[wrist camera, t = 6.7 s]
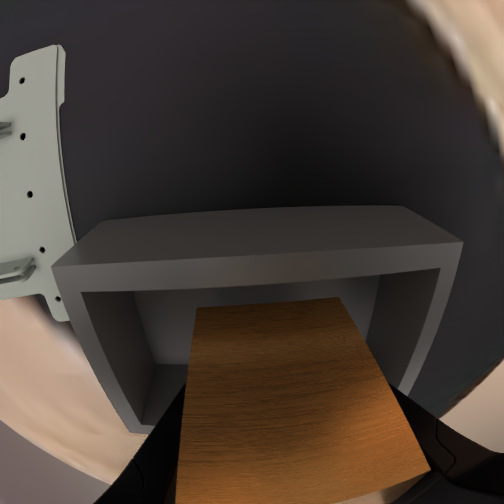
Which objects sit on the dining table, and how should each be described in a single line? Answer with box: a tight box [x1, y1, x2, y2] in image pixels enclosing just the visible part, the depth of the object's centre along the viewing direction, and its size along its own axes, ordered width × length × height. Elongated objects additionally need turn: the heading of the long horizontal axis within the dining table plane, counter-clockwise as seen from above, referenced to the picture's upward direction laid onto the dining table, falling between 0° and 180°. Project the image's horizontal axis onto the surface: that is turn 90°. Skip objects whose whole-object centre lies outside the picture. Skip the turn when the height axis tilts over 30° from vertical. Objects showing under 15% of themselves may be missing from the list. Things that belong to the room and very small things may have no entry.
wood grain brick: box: [175, 297, 431, 504], centre depth 8 cm, size 6×5×7 cm
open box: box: [51, 205, 463, 434], centre depth 13 cm, size 10×15×5 cm, turn 92°
